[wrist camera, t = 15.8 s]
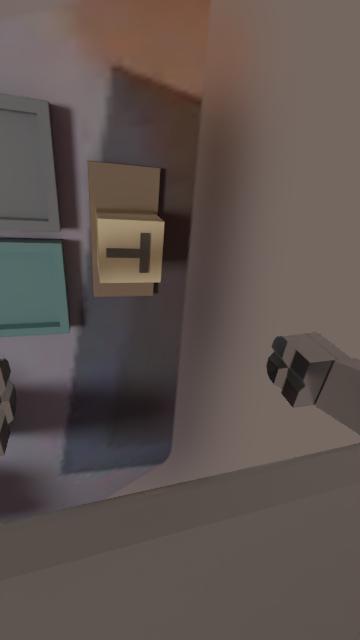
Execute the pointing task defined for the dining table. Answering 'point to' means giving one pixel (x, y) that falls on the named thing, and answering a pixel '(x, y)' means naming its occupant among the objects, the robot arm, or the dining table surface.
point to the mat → (120, 193)
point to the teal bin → (33, 287)
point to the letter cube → (129, 245)
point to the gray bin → (27, 166)
